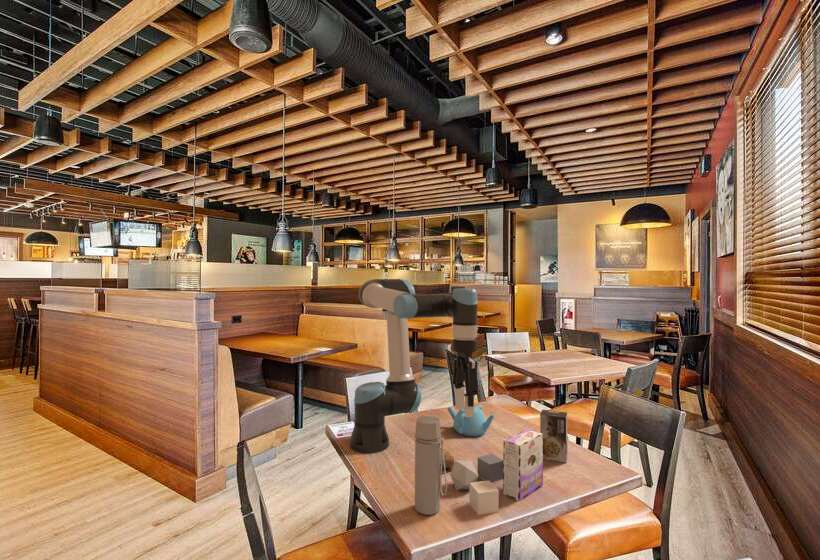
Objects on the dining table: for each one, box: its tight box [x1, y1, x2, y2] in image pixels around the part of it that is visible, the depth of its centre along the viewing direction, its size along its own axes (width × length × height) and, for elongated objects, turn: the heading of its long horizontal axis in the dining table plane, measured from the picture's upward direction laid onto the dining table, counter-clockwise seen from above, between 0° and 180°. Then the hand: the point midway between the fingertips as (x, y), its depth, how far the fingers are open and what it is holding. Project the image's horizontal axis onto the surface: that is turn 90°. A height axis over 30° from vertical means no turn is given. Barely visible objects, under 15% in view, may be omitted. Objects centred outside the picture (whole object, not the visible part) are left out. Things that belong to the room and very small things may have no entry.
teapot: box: [447, 404, 496, 437], centre depth 175 cm, size 15×17×11 cm
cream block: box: [469, 480, 500, 516], centre depth 115 cm, size 6×6×6 cm
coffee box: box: [539, 409, 569, 463], centre depth 149 cm, size 9×6×16 cm
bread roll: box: [440, 447, 455, 475], centre depth 140 cm, size 10×10×8 cm
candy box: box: [502, 428, 544, 502], centre depth 125 cm, size 14×6×16 cm, turn 133°
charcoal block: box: [477, 453, 503, 484], centre depth 133 cm, size 6×6×6 cm
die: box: [449, 459, 479, 491], centre depth 127 cm, size 8×9×10 cm
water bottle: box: [414, 415, 448, 516], centre depth 114 cm, size 9×8×25 cm
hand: (464, 412), depth 127 cm, fingers open, 7 cm apart
